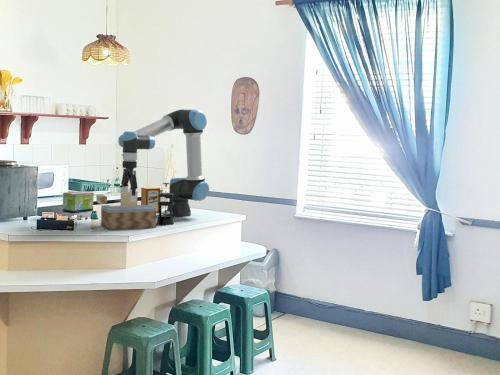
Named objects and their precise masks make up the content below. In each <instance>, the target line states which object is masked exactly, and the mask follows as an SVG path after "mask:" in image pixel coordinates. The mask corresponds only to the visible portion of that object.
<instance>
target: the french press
mask: <svg viewBox="0 0 500 375" xmlns="http://www.w3.org/2000/svg"><path fill="white" fill-rule="evenodd" d="M162 185H164V186H165V188H167V187H168V185H170V182H163V183H162ZM158 195H159V197H160V198H165V199H166V200H167V199H170V198H173V195H174V194H172V193H169V192H160V193H158ZM166 200H163V201H160V202H158V205H159V212H158V213H157V214H158V216H157V217H156V225H162V226H172V225H174V224H175V223H174V219H175V217H176V216H175V202H169V201H166ZM168 206H170V212H169V211H166V210H167V207H168ZM162 207H164V208H165V209H164V210H162ZM166 214H170V216H162V215H166Z"/></svg>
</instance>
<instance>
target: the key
mask: <svg viewBox="0 0 500 375" xmlns="http://www.w3.org/2000/svg"><path fill="white" fill-rule="evenodd" d="M95 201H96V203H97V204H99V205H107V204H108V196H106V195H104V194H96V200H95Z"/></svg>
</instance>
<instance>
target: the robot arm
mask: <svg viewBox="0 0 500 375" xmlns="http://www.w3.org/2000/svg"><path fill="white" fill-rule="evenodd" d="M207 122H208V121H207V117H206V115H205V113H204V112H203V111H202V110H200V109H178V110H175V111H174V110H173V111H172V112H169V113H168V114H165V115H163V116H162V118H161V119H159V120H156V121H155V122H152V123H149V124H147V125H146V126H143V127H141V128H139V129H136V130H134V131H123V133H122V134H121V135H120V136H119V137H118V139H117V140H118V145H119V146H120V147H122V154H121V156H122V166H121V168H123V169H122V170H123V172H122V178H121V186H122V192H130V202H136V193H137V189H138V182H137V171H136V170H135V169H136V168H137V167H138V166H137V164H138V162H137V160H138V150H147V151H148V150H152V149H153V148H155V145H156V140H155V137H157V136H159V135H160V134H161V135H162V134H163V133H165V132H168V131H169V132H172V131H174V130H182V133H183V134H184V135H185V144H186V145H185V146H186V149H185V150H186V168H187V176H186V177H174V178H171V179H170V180H169V183H170V184H168V185H169V188H168V189H169V192H168V193H172V194H174V195H173V198H170V199H169V200H168V202H175V217H191V214H192V213H191V212H192V210H191V207H190V204H189V200H191V201H194V202H197V201H199V202H200V201H204V200H205V199H206V198H207V197H208V194H209V192H210V186H209V184H208V183H207V182H206V178H205V176H203V171H202V170H203V168H202V167H203V166H202V143H201V140H202V138H201V135H202V134H203V132H204V130H205V128H206V126H207ZM129 185H130V187H129ZM166 211H169V212H170V206H166ZM165 215H166V216H168V217H170V214H165Z"/></svg>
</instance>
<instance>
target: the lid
mask: <svg viewBox="0 0 500 375" xmlns="http://www.w3.org/2000/svg"><path fill="white" fill-rule="evenodd" d="M100 207H101V209H102V210H104V211H106V212H108V213H120V212H146V211H156V208H154V207H152V206H149V205H141V204H138V192H136V202H130V191H128V192H123V191H122V192H121V191H120V205H109V206H104V205H101V206H100Z"/></svg>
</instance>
